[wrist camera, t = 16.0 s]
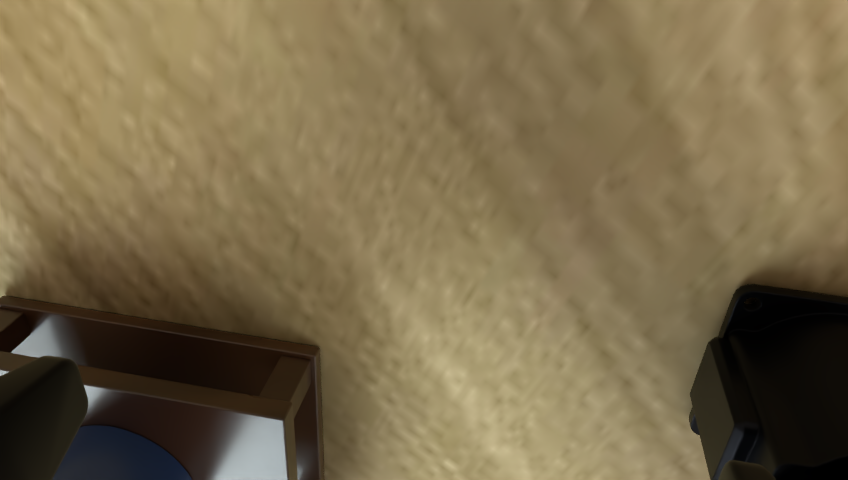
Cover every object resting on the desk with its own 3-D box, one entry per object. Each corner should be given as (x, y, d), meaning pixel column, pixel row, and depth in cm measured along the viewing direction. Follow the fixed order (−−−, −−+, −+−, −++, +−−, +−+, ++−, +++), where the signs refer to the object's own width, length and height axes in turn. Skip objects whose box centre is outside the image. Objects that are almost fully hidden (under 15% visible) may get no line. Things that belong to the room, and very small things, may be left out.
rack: (320, 346, 26) (284, 419, 23) (326, 508, 31) (297, 588, 28) (3, 294, 28) (-75, 355, 24) (57, 456, 33) (-1, 525, 29)
